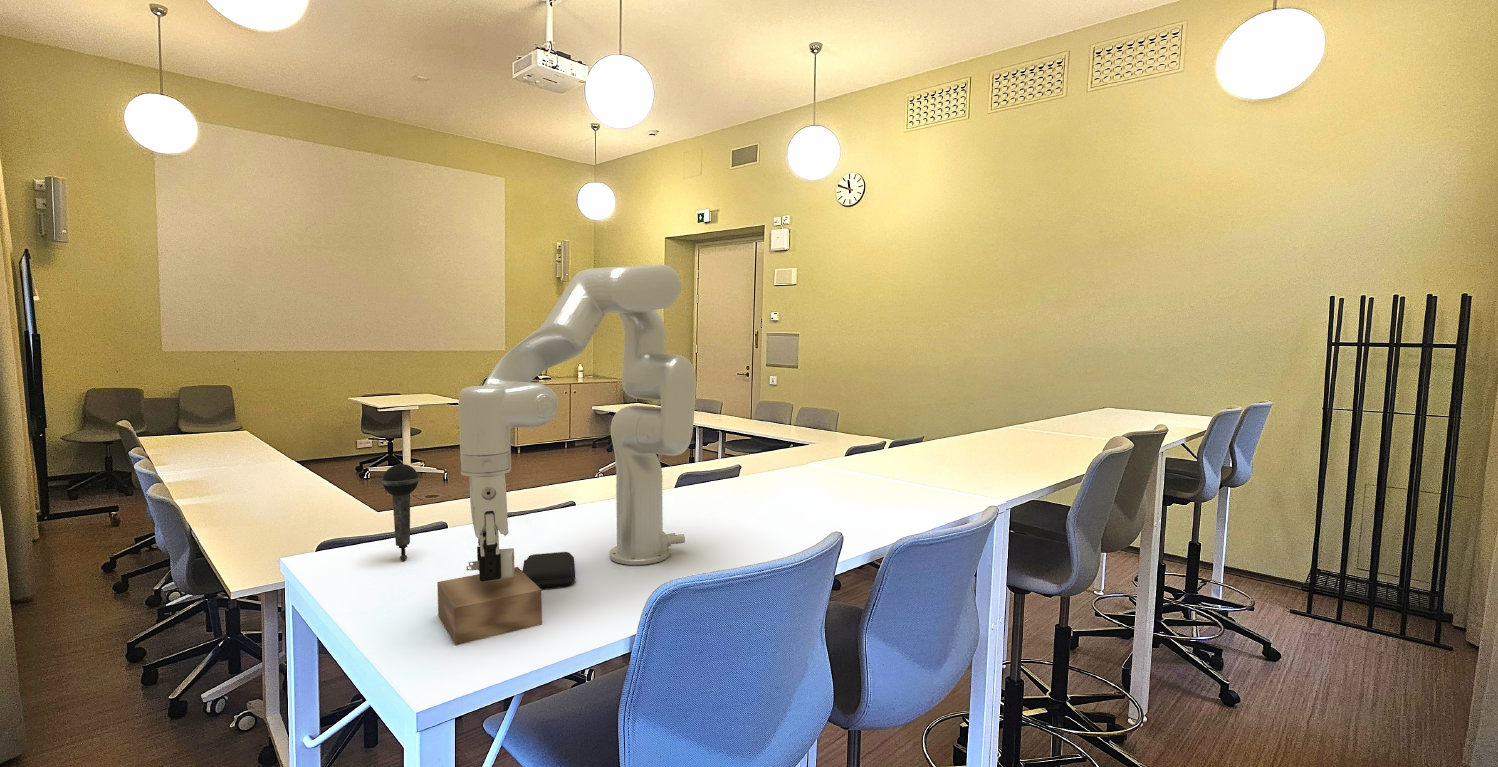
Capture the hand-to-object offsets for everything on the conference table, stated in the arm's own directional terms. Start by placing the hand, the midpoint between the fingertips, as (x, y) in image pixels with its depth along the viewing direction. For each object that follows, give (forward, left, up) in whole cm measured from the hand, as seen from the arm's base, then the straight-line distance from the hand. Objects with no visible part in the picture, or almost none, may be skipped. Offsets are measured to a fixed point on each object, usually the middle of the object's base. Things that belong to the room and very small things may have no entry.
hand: (489, 573), depth 109 cm
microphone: (+14, -38, -8) cm, 41 cm away
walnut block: (0, 0, -8) cm, 8 cm away
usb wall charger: (0, 0, -1) cm, 1 cm away
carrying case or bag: (-11, -17, -8) cm, 22 cm away
